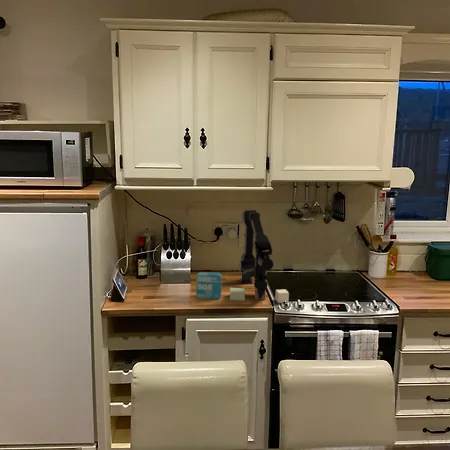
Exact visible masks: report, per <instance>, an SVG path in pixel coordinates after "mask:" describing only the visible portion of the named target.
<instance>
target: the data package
mask: <svg viewBox="0 0 450 450" xmlns="http://www.w3.org/2000/svg"><path fill="white" fill-rule="evenodd" d="M195 281H196V282H195V285H196V289H195V296H196V298H197V299H202V300H203V299H205V300H208V299H209V300H219V299H220V298H221V296H222V274H221V273H220V272H209V271H208V272H206V271H205V272H204V271H203V272H202V271H200V272H198V273H197V274H196V280H195Z"/></svg>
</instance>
